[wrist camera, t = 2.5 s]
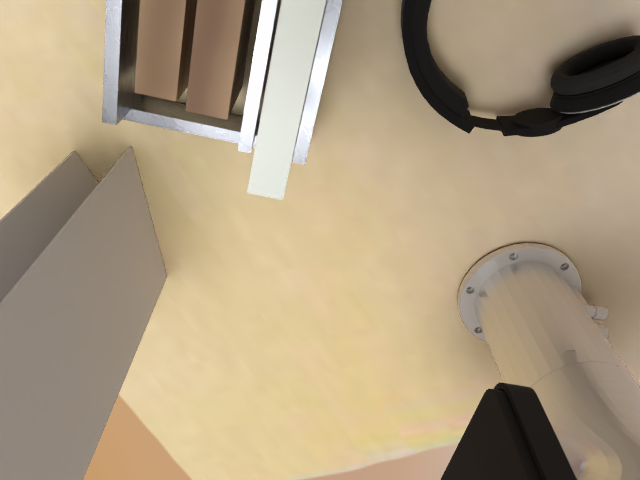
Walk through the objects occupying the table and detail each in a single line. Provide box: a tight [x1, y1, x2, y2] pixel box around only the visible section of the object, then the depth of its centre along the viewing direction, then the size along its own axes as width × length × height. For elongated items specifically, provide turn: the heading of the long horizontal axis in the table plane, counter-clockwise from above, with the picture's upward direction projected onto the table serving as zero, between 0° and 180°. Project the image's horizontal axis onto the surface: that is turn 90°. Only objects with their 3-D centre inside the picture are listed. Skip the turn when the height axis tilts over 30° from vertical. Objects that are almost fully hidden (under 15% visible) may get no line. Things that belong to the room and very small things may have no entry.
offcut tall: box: [185, 0, 255, 120], centre depth 40 cm, size 3×12×9 cm, turn 167°
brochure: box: [0, 147, 167, 480], centre depth 40 cm, size 14×6×30 cm, turn 5°
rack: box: [102, 0, 343, 165], centre depth 41 cm, size 15×19×8 cm
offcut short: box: [134, 0, 197, 102], centre depth 40 cm, size 3×12×8 cm, turn 167°
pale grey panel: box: [247, 0, 326, 200], centre depth 36 cm, size 2×12×20 cm, turn 167°
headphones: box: [401, 0, 640, 137], centre depth 42 cm, size 18×8×20 cm
